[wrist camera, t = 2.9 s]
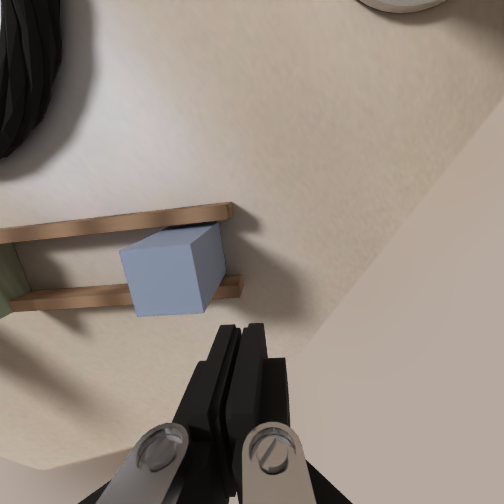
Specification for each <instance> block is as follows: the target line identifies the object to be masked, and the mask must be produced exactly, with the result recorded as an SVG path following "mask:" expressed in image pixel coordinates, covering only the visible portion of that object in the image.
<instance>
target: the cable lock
mask: <svg viewBox="0 0 504 504" xmlns="http://www.w3.org/2000/svg"><path fill="white" fill-rule="evenodd" d="M61 49H62V39H61V29H60V0H1V29H0V159H1V158H4V157H8V156H9V155H10V154H11V153H12V152H13V151H14V150H15V149H16V148H17V147H19V146H20V145H21V144H22V143H23V141H24V140H25V139H26V137H27V136H28V135H29V133H30V131H31V130H32V129H33V128H35V127H36V126H37V125H38V124H39V123H40V122H41V121H42V119H43V116H44V114H45V111H46V109H47V106H48V104H49V100H50V93H51V87H52V84H53V81H54V79H55V76H56V73H57V70H58V67H59V65H60V62H61Z"/></svg>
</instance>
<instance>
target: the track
mask: <svg viewBox="0 0 504 504" xmlns="http://www.w3.org/2000/svg"><path fill="white" fill-rule="evenodd" d="M232 216H233V208H232V202H225V203H216V204H208V205H199V206H191V207H182V208H173V209H165V210H156V211H148V212H139V213H130V214H122V215H113V216H105V217H96V218H87V219H79V220H70V221H62V222H53V223H44V224H36V225H27V226H19V227H10V228H1V229H0V319H1V318H3V317H5V316H6V315H8V314H10V313H12V312H21V311H37V310H53V309H68V308H84V307H99V306H115V305H130V304H133V300H132V297H131V293H130V290H129V286H128V284H116V285H103V286H90V287H77V288H64V289H51V290H38V291H31V289H30V287H29V284H28V282H27V279H26V277H25V274H24V272H23V269H22V267H21V264H20V262H19V259H18V257H17V254H16V252H15V249H14V247H13V244H12V242H22V241H31V240H40V239H50V238H59V237H68V236H78V235H87V234H96V233H106V232H115V231H124V230H134V229H143V228H153V227H162V226H171V225H181V224H190V223H199V222H209V221H218V220H227V219H229V218H230V217H232ZM243 286H244V285H243V278H242V275H234V276H224V277H223V279H222V281H221V282H220V284H219V286H218V288H217V290H216V292H215V293H214V295H213V297H212V299H223V298H239V297H240V296H241V293H242V289H243Z"/></svg>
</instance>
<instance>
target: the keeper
mask: <svg viewBox="0 0 504 504" xmlns="http://www.w3.org/2000/svg"><path fill="white" fill-rule="evenodd" d="M119 254H120V258H121V261H122V265H123V268H124V272H125V275H126V279H127V282H128V286H129V290H130V293H131V297H132V300H133V304H134V307H135V311H136V315H137V317H146V316H163V315H181V314H198V313H204V312H205V310H206V308H207V306H208V304H209V303H210V301H211V299H212V297H213V295H214V293H215V292H216V290H217V288H218V286H219V284H220V282H221V281H222V279H223V277H224V275H225V273H226V265H225V259H224V252H223V246H222V240H221V234H220V228H219V222H212V223H202V224H193V225H184V226H174V227H168V228H165V229H163V230H161V231H159V232H157V233H155V234H153V235H151V236H149V237H147V238H145V239H143V240H141V241H138V242H136V243H134V244H132V245H130V246H128V247H126V248H124V249H122V250H120V251H119Z"/></svg>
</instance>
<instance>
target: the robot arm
mask: <svg viewBox="0 0 504 504" xmlns="http://www.w3.org/2000/svg"><path fill="white" fill-rule="evenodd" d="M360 1H361V2H363V3H364V4H366V5H368V6H371V7H373V8H376V9H378V10H381V11H386V12H393V13H407V12H417V11H421V10H424V9H427V8H431V7H434V6H437V5H438V4H440V3H442V2H444V1H446V0H360ZM236 491H237V495H238V501H239V504H352V503H351V502H350V501H349V500H348V499H347V498H346V497H345V496H344V495H343V494H342V493H340V491H339V490H337V489H336V488H335V487H334V486H333V485H332V484H331V483H330V482H329V481H328V480H327V479H326V478H325V477H324V476H323V475H322V474H321V473H319V472H318V471H317V470H316V469H315V468H314V467H313V466H312V465H311V464H310V463H309V462H308V461H307V460H306V459H305V456H304V452H303V448H302V444H301V442H300V439H299V437H298V436H297V434H296V433H295V432H294V431H293V430H292V429H291V428H290V412H289V394H288V382H287V371H286V361H285V358H268V355H267V347H266V339H265V331H264V324H263V323H250V324H249V325H248V327H247V328H244V329H243V333H242V334H241V329H240V328H236V326H235V324H233V325H220V327H219V330H218V332H217V335H216V337H215V340H214V343H213V345H212V348H211V350H210V353H209V355H208V358H207V360H206V361H199V362H198V364H197V366H196V368H195V370H194V373H193V375H192V377H191V379H190V382H189V384H188V386H187V389H186V391H185V393H184V396H183V398H182V400H181V402H180V405H179V407H178V409H177V412H176V414H175V416H174V419H173V421H172V423H165V424H161V425H158V426H156V427H155V428H153V429H151V430H149V431H148V432H147V433H146V434H145V435H143V436H142V437H141V438H140V440H139V441H138V442H137V443H136V445H135V446H134V448H133V449H132V450H131V452H130V454H129V455H128V457H127V458H126V459H125V461H124V462H123V464H122V466H121V467H120V468H119V470H118V471H117V473H116V474H115V476H114V477H113V479H112V480H110V481H109V482H107V483H106V484H105V485H103V486H102V487H101V488H99V489H98V490H96V491H95V492H94V493H92V494H91V495H89V496H88V497H87V498H85V499H84V500H82V501H81V502H80V503H78V504H228V503H229V497H235V495H236Z"/></svg>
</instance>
